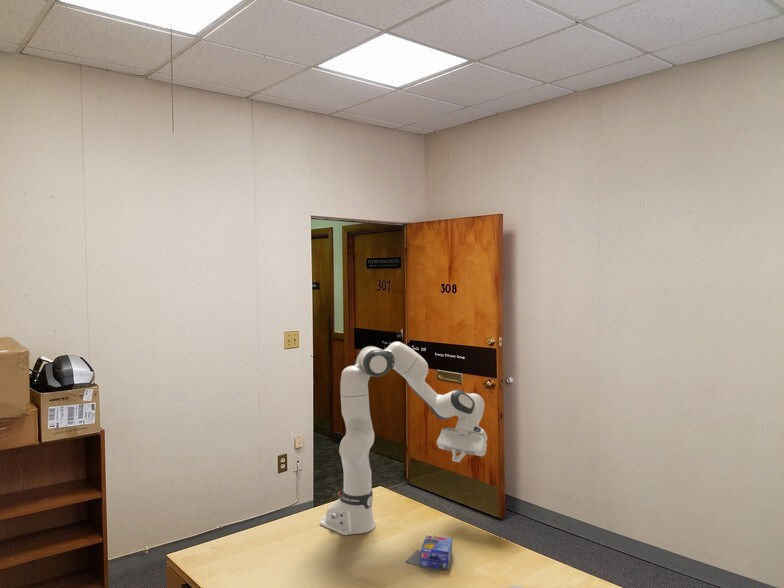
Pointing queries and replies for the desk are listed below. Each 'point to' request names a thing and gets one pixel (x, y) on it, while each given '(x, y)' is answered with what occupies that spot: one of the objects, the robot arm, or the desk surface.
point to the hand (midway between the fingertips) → (455, 461)
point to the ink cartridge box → (436, 552)
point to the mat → (418, 561)
